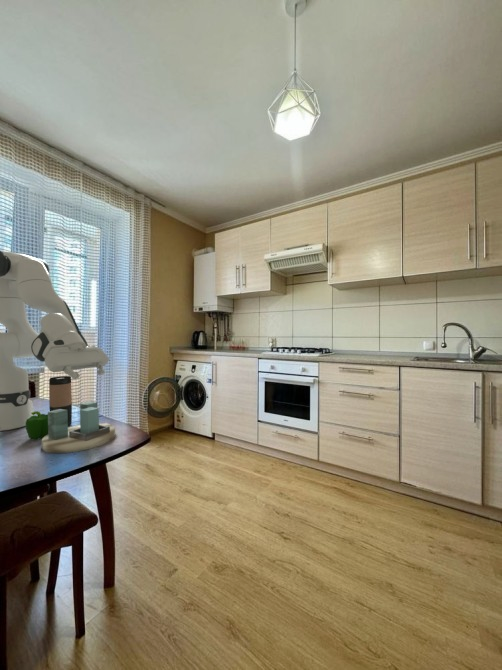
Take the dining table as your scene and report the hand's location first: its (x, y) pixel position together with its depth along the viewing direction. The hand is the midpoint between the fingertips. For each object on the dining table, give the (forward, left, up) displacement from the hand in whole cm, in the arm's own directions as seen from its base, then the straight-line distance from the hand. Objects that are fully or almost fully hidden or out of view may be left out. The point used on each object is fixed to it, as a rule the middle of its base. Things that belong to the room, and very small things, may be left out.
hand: (90, 375), depth 96 cm
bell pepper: (-23, -1, -23) cm, 32 cm away
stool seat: (-6, +1, -23) cm, 24 cm away
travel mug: (-28, +11, -23) cm, 38 cm away
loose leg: (-1, 0, -21) cm, 21 cm away
